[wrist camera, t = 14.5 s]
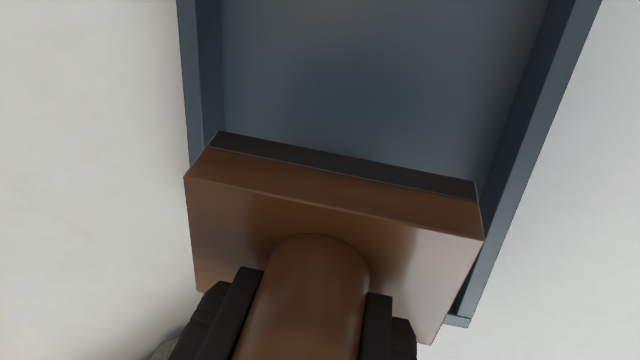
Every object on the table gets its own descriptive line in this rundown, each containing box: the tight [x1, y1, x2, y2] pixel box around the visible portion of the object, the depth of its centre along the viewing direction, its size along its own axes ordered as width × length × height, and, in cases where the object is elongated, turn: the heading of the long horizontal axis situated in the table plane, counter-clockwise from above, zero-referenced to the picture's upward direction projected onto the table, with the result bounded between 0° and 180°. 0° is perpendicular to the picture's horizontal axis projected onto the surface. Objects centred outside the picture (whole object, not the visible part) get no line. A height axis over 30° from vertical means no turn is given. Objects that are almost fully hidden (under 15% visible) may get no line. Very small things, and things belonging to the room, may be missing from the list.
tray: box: [176, 0, 602, 328], centre depth 18 cm, size 22×15×3 cm
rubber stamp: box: [183, 130, 485, 360], centre depth 11 cm, size 5×8×8 cm, turn 83°
